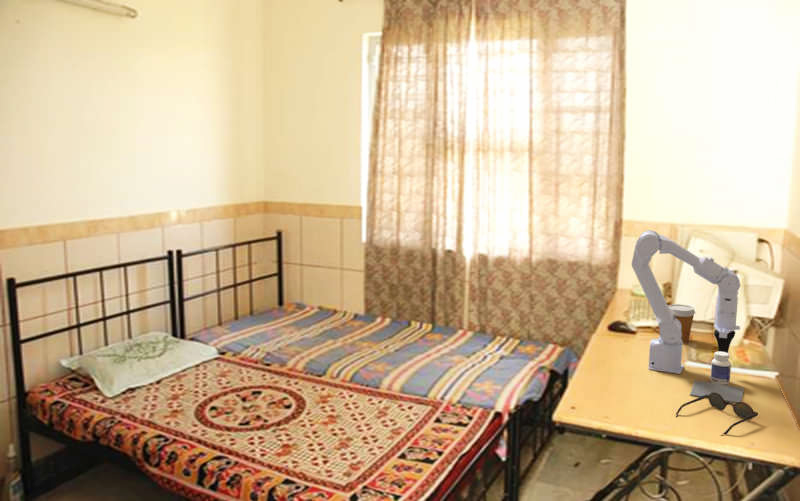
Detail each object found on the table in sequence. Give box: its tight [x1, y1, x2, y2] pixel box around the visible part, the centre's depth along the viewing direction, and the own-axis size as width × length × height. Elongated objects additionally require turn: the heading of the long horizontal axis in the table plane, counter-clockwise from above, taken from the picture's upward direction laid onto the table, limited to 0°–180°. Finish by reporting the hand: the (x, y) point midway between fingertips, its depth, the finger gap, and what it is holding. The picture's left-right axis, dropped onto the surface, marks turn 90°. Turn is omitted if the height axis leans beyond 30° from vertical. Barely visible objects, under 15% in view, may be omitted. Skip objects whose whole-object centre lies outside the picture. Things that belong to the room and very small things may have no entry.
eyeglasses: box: [675, 392, 759, 435], centre depth 172 cm, size 15×15×5 cm
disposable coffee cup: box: [668, 303, 696, 344], centre depth 236 cm, size 10×10×12 cm
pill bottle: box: [709, 351, 732, 385], centre depth 197 cm, size 5×5×9 cm
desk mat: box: [689, 379, 745, 404], centre depth 190 cm, size 13×12×1 cm
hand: (723, 354), depth 202 cm, fingers closed
